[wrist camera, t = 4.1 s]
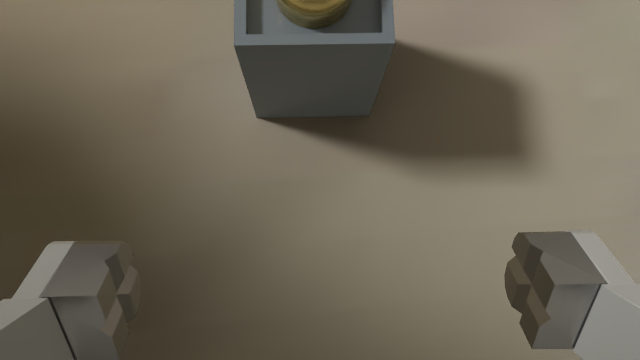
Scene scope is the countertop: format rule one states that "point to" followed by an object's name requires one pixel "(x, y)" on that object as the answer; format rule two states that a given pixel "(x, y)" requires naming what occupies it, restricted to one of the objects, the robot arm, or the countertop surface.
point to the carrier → (313, 59)
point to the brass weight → (314, 12)
